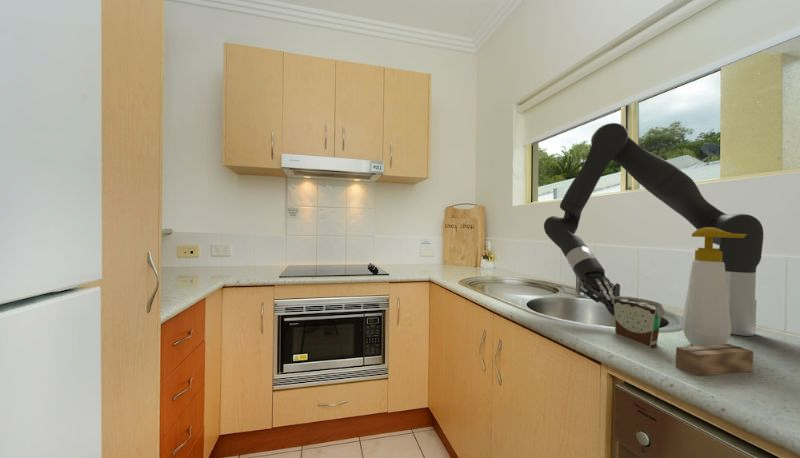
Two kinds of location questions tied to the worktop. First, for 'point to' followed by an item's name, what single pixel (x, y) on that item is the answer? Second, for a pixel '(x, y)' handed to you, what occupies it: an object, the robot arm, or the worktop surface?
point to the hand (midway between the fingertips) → (617, 314)
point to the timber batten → (714, 359)
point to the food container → (637, 319)
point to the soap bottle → (708, 293)
